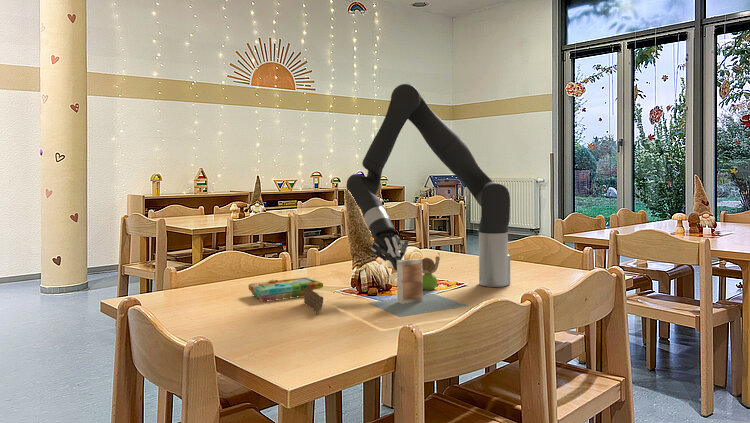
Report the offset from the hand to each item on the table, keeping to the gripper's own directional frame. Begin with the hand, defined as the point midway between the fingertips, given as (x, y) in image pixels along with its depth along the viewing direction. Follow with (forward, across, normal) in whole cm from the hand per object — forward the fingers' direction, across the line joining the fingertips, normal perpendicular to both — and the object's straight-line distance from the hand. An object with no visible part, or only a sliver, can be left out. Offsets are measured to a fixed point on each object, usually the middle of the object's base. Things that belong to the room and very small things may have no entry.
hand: (400, 269), depth 170 cm
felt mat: (+13, 0, 0) cm, 13 cm away
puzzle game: (-11, -27, +24) cm, 38 cm away
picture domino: (+10, 0, +2) cm, 10 cm away
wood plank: (+4, -27, +9) cm, 28 cm away
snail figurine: (+2, +14, +10) cm, 18 cm away
